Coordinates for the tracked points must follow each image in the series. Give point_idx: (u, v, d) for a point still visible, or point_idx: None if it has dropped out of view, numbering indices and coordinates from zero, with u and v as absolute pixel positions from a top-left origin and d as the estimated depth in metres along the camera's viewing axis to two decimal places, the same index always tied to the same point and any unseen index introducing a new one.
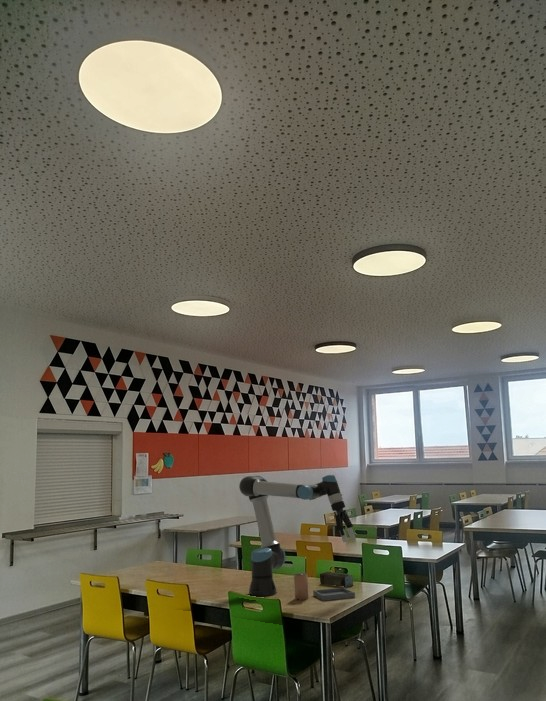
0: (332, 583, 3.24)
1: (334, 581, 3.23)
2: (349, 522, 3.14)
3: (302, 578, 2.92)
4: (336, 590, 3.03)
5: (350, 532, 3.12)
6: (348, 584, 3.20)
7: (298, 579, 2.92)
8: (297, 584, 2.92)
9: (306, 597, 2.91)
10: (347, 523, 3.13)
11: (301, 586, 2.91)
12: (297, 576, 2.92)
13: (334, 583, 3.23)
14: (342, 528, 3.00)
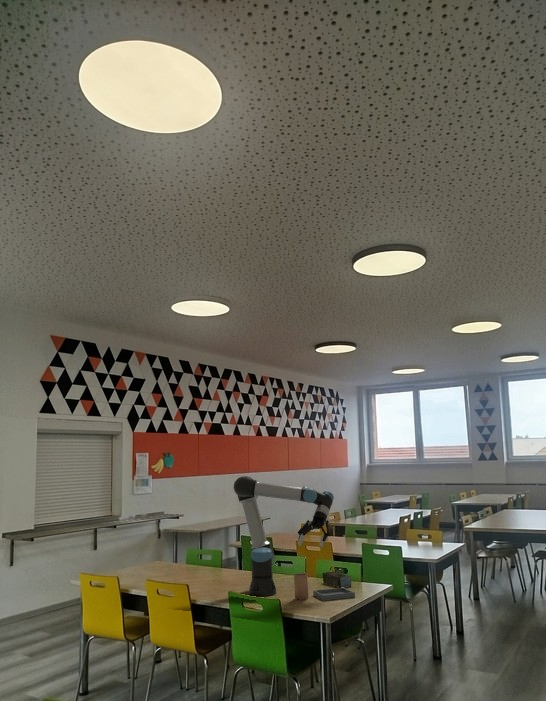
0: (331, 583, 3.25)
1: (332, 581, 3.24)
2: None
3: (302, 578, 2.92)
4: (336, 590, 3.03)
5: (301, 538, 3.13)
6: (344, 585, 3.18)
7: (298, 579, 2.92)
8: (297, 584, 2.92)
9: (306, 597, 2.91)
10: (306, 532, 3.17)
11: (301, 586, 2.91)
12: (297, 576, 2.92)
13: (332, 583, 3.23)
14: (327, 536, 3.08)
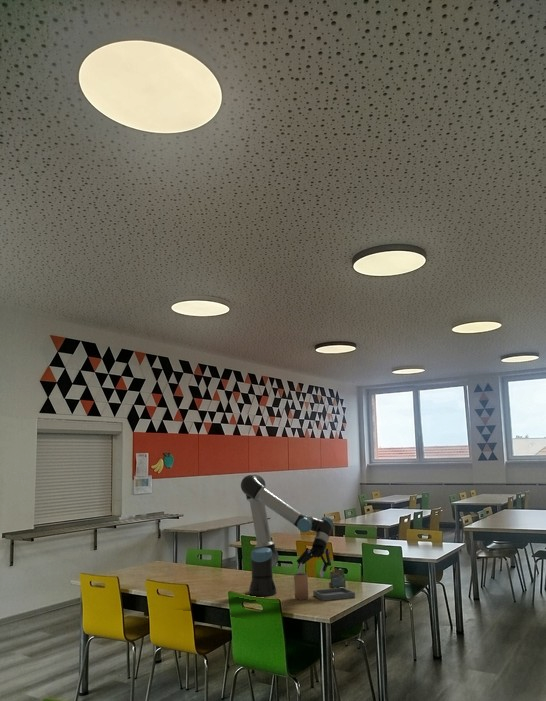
0: (331, 582, 3.27)
1: (331, 580, 3.26)
2: None
3: (302, 578, 2.92)
4: (336, 590, 3.03)
5: (301, 568, 3.06)
6: (337, 585, 3.18)
7: (298, 579, 2.92)
8: (297, 584, 2.92)
9: (306, 597, 2.91)
10: (305, 560, 3.09)
11: (301, 586, 2.91)
12: (297, 576, 2.92)
13: (331, 582, 3.25)
14: None
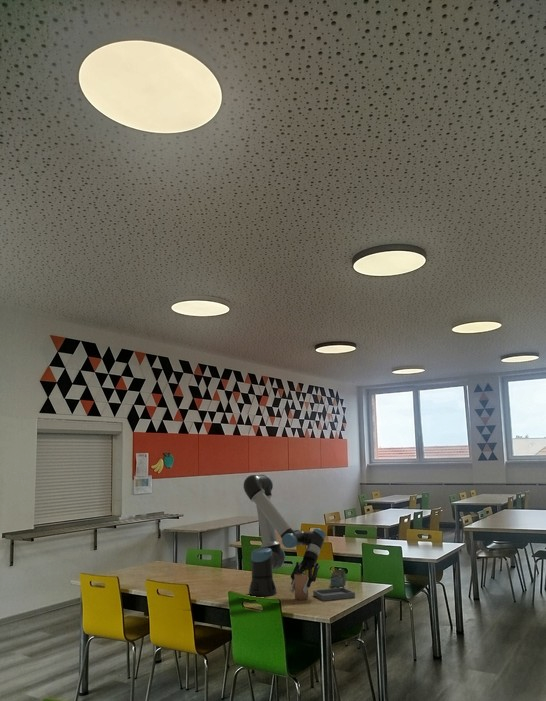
0: None
1: None
2: None
3: (302, 578, 2.92)
4: (336, 590, 3.03)
5: (294, 584, 2.95)
6: (336, 585, 3.18)
7: (298, 579, 2.92)
8: (297, 584, 2.92)
9: (306, 597, 2.91)
10: None
11: (301, 586, 2.91)
12: (297, 576, 2.92)
13: None
14: (311, 582, 2.93)
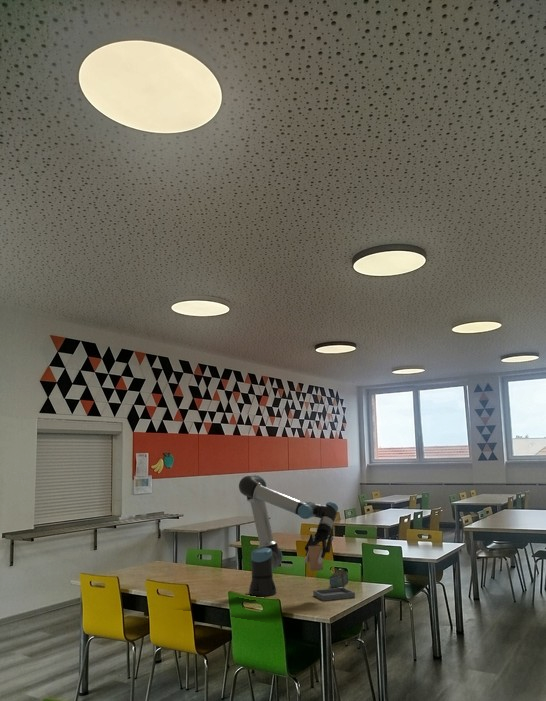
0: None
1: None
2: None
3: (316, 549, 2.95)
4: (336, 590, 3.03)
5: None
6: (335, 585, 3.18)
7: (312, 550, 2.95)
8: (311, 555, 2.95)
9: (321, 568, 2.94)
10: None
11: (315, 556, 2.94)
12: (311, 547, 2.96)
13: None
14: (325, 553, 2.97)
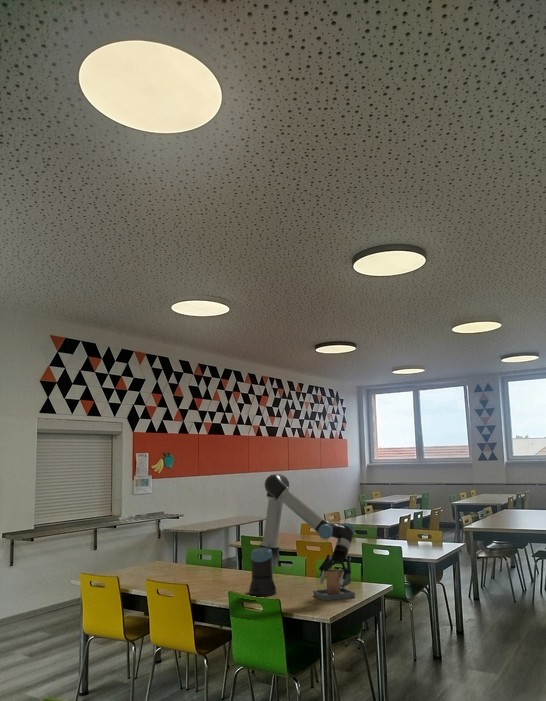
0: None
1: None
2: None
3: (334, 574, 2.94)
4: None
5: (323, 575, 3.00)
6: None
7: (330, 575, 2.94)
8: (329, 580, 2.94)
9: (338, 593, 2.93)
10: (328, 568, 3.03)
11: (333, 582, 2.93)
12: (329, 572, 2.95)
13: None
14: None
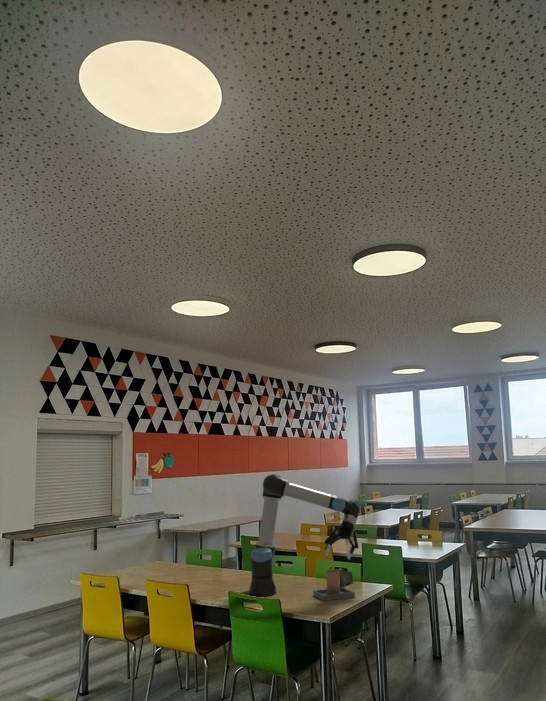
0: None
1: None
2: (332, 542, 3.18)
3: (334, 574, 2.94)
4: None
5: (328, 549, 3.14)
6: None
7: (330, 575, 2.94)
8: (329, 580, 2.94)
9: (338, 593, 2.93)
10: (333, 542, 3.17)
11: (333, 582, 2.93)
12: (329, 572, 2.95)
13: None
14: (354, 548, 3.08)
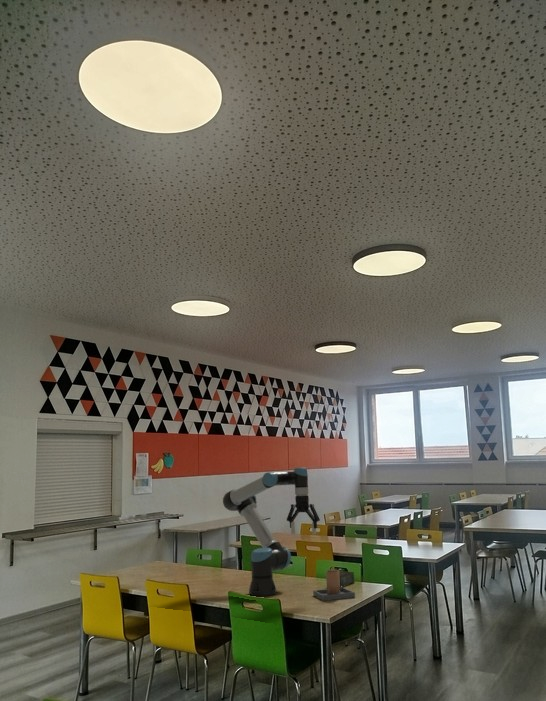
0: None
1: None
2: None
3: (334, 574, 2.94)
4: None
5: (293, 526, 3.17)
6: None
7: (330, 575, 2.94)
8: (329, 580, 2.94)
9: (338, 593, 2.93)
10: (294, 517, 3.18)
11: (333, 582, 2.93)
12: (329, 572, 2.95)
13: None
14: (316, 521, 3.11)
